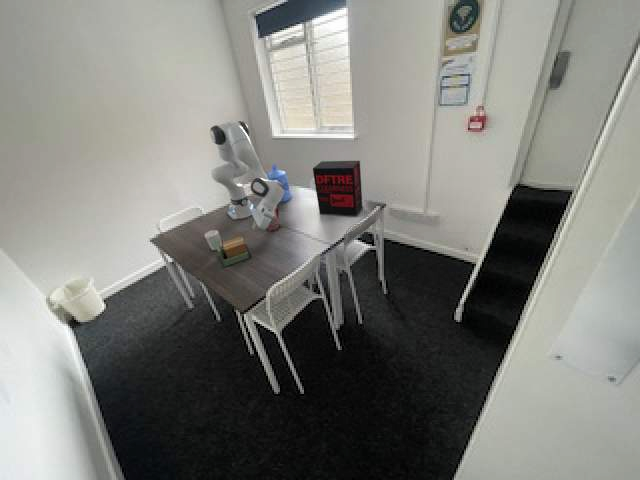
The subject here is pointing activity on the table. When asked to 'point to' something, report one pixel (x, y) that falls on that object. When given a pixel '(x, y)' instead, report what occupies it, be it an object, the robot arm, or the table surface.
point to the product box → (338, 187)
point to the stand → (232, 259)
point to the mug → (274, 222)
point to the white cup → (213, 239)
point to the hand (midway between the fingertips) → (253, 229)
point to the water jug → (282, 179)
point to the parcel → (234, 247)
